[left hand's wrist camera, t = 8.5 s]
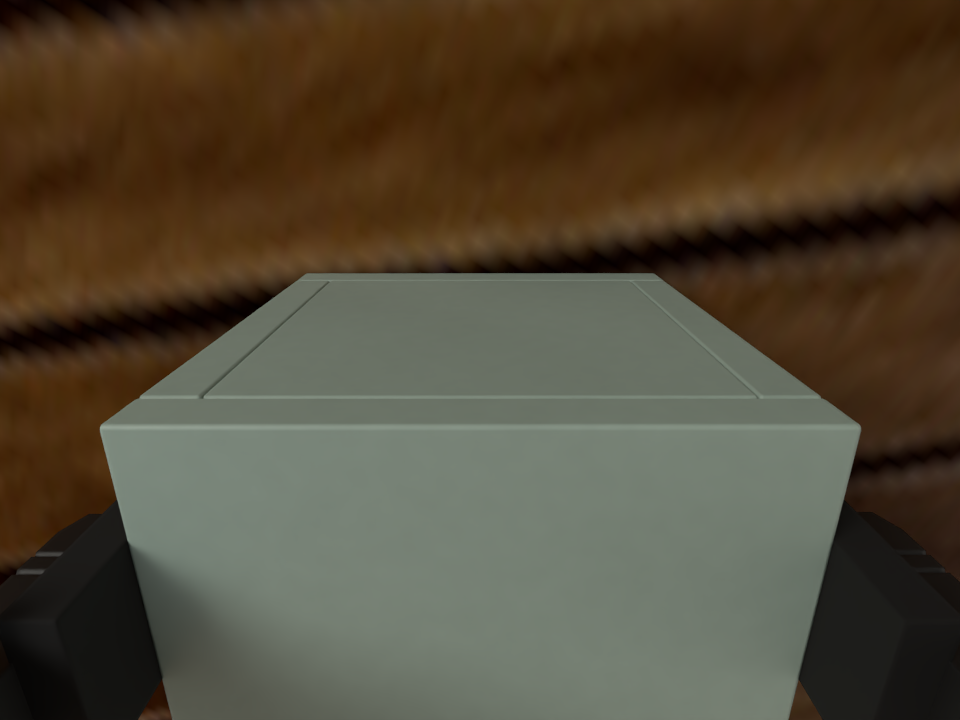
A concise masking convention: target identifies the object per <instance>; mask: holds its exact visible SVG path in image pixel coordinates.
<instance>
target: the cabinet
mask: <svg viewBox="0 0 960 720" xmlns="http://www.w3.org/2000/svg"><path fill="white" fill-rule="evenodd" d="M860 432H861V427H860V425H859V424H858V423H857V422H855V421H854V420H852V419H851V418H850V417H848V416H847V415H846V414H844V413H843V412H842V411H840V410H839V409H837V408H836V407H835V406H833V405H832V404H831V403H829V402H828V401H827V400H824V399H821V397H820V395H818V394H817V393H816V392H814V391H813V390H811V389H810V388H809V387H807V386H806V385H805V384H803V383H802V382H801V381H799V380H798V379H796V378H795V377H794V376H792V375H791V374H790V373H788V372H787V371H786V370H784V369H783V368H781V367H780V366H779V365H777V364H776V363H775V362H773V361H772V360H771V359H769V358H768V357H767V356H765V355H764V354H762V353H761V352H760V351H758V350H757V349H756V348H754V347H753V346H752V345H750V344H749V343H747V342H746V341H745V340H743V339H742V338H741V337H739V336H738V335H737V334H735V333H734V332H732V331H731V330H730V329H728V328H727V327H726V326H724V325H723V324H722V323H720V322H719V321H718V320H716V319H715V318H713V317H712V316H711V315H709V314H708V313H707V312H705V311H704V310H703V309H701V308H700V307H698V306H697V305H696V304H694V303H693V302H692V301H690V300H689V299H688V298H686V297H685V296H683V295H682V294H681V293H679V292H678V291H677V290H675V289H674V288H673V287H671V286H670V285H668V284H667V283H666V282H664V281H663V280H662V279H661V278H659V277H658V276H657V275H655V274H653V273H437V274H305V275H304V276H303V277H301V278H300V279H299V280H298V281H296V282H295V283H293V284H292V285H291V286H289V287H288V288H287V289H285V290H284V291H283V292H281V293H280V294H278V295H277V296H276V297H274V298H273V299H272V300H270V301H269V302H268V303H266V304H265V305H264V306H262V307H261V308H259V309H258V310H257V311H255V312H254V313H253V314H251V315H250V316H249V317H247V318H246V319H244V320H243V321H242V322H240V323H239V324H238V325H236V326H235V327H234V328H232V329H231V330H229V331H228V332H227V333H225V334H224V335H223V336H221V337H220V338H219V339H217V340H216V341H215V342H213V343H212V344H210V345H209V346H208V347H206V348H205V349H204V350H202V351H201V352H200V353H198V354H197V355H195V356H194V357H193V358H191V359H190V360H189V361H187V362H186V363H185V364H183V365H182V366H181V367H179V368H178V369H176V370H175V371H174V372H172V373H171V374H170V375H168V376H167V377H166V378H164V379H163V380H161V381H160V382H159V383H157V384H156V385H155V386H153V387H152V388H151V389H149V390H148V391H147V392H145V393H144V394H142V395H141V396H140V399H136V400H134V401H133V402H132V403H130V404H129V405H128V406H126V407H125V408H123V409H122V410H121V411H119V412H118V413H117V414H115V415H114V416H113V417H111V418H110V419H109V420H107V421H106V422H104V423H103V424H102V425H101V427H100V433H101V437H102V441H103V445H104V448H105V452H106V456H107V460H108V464H109V468H110V472H111V476H112V480H113V484H114V488H115V492H116V496H117V500H118V504H119V508H120V512H121V516H122V520H123V524H124V528H125V532H126V536H127V540H128V544H129V548H130V552H131V556H132V560H133V564H134V568H135V572H136V576H137V580H138V584H139V588H140V592H141V596H142V600H143V604H144V608H145V612H146V616H147V620H148V624H149V628H150V632H151V636H152V640H153V644H154V648H155V652H156V656H157V660H158V664H159V668H160V672H161V676H162V680H163V684H164V688H165V692H166V696H167V700H168V704H169V708H170V712H171V716H172V719H173V720H788V719H789V715H790V711H791V707H792V703H793V699H794V695H795V691H796V687H797V683H798V679H799V675H800V671H801V667H802V663H803V659H804V655H805V651H806V647H807V643H808V639H809V635H810V631H811V627H812V623H813V620H814V616H815V612H816V608H817V604H818V600H819V596H820V592H821V588H822V584H823V580H824V576H825V572H826V568H827V564H828V560H829V556H830V552H831V548H832V544H833V540H834V536H835V532H836V528H837V524H838V520H839V516H840V512H841V508H842V504H843V500H844V496H845V492H846V488H847V484H848V480H849V476H850V472H851V468H852V464H853V460H854V456H855V452H856V448H857V444H858V440H859V436H860Z"/></svg>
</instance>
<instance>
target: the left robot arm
mask: <svg viewBox="0 0 960 720" xmlns="http://www.w3.org/2000/svg"><path fill="white" fill-rule="evenodd" d="M925 552H926V551H925V550H924V549H923V548H922V547H921V546H920V545H919V544H918V543H916V542H915V541H914V540H913V539H912V538H911V537H910V536H909V535H908V534H907V533H906V532H904V531H903V530H902V529H900V528H899V527H897V526H895V525H893V524H892V523H890V522H888V521H886V520H885V519H883V518H881V517H880V516H878V515H876V514H874V513H873V512H856V511H855V510H854V509H853V508H852V507H851V506H850V505H849V504H848V503H847V502H846V501H845V500H843V504H842V508H841V512H840V516H839V520H838V524H837V528H836V532H835V536H834V540H833V544H832V548H831V552H830V556H829V560H828V564H827V568H826V572H825V576H824V580H823V584H822V588H821V592H820V596H819V600H818V604H817V608H816V612H815V616H814V620H813V623H812V627H811V631H810V635H809V639H808V643H807V647H806V651H805V655H804V659H803V663H802V667H801V671H800V675H799V680H800V682H801V684H802V685H803V687H804V689H805V690H806V692H807V694H808V695H809V697H810V699H811V701H812V702H813V704H814V706H815V707H816V709H817V711H818V712H819V714H820V716H821V717H822V719H823V720H960V582H959V581H958V580H957V579H956V578H955V577H953V576H952V575H951V574H950V573H946V572H945V568H944V567H943V566H942V565H940V564H939V563H938V562H937V561H936V560H935V559H934V558H933V557H932V556H931V555H926V553H925ZM161 680H162V676H161V672H160V668H159V664H158V660H157V656H156V652H155V648H154V644H153V640H152V636H151V632H150V628H149V624H148V620H147V616H146V612H145V608H144V604H143V600H142V596H141V592H140V588H139V584H138V580H137V576H136V572H135V568H134V564H133V560H132V556H131V552H130V548H129V544H128V540H127V536H126V532H125V528H124V524H123V520H122V516H121V512H120V508H119V504H118V500H116V501H115V502H114V503H113V504H112V505H111V506H110V507H109V508H108V509H107V510H106V511H105V512H104V513H103V514H88V515H87V516H85V517H83V518H82V519H80V520H78V521H76V522H75V523H73V524H71V525H69V526H68V527H66V528H64V529H63V530H61V531H59V532H58V533H57V534H56V535H55V536H54V537H52V538H51V539H50V540H49V541H48V542H47V543H46V544H45V545H44V546H43V547H42V548H41V549H39V550H38V551H37V552H36V556H35V557H31V558H30V559H29V560H28V561H27V562H25V563H24V564H23V565H22V566H21V567H20V568H19V569H18V570H17V574H16V575H11V576H10V577H9V578H8V579H7V580H6V581H5V582H4V583H3V584H2V585H1V586H0V720H138V718H139V717H140V715H141V713H142V712H143V710H144V708H145V707H146V705H147V703H148V702H149V700H150V698H151V697H152V695H153V693H154V691H155V690H156V688H157V686H158V685H159V683H160V681H161Z"/></svg>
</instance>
